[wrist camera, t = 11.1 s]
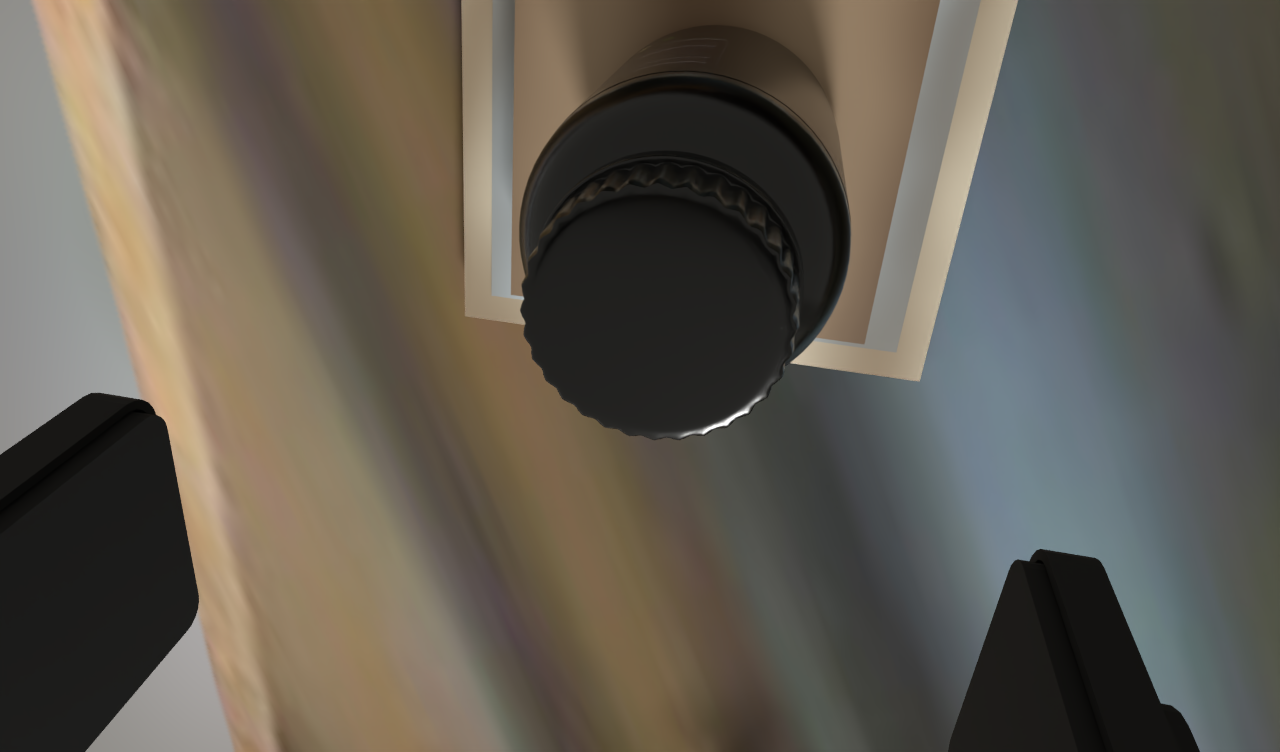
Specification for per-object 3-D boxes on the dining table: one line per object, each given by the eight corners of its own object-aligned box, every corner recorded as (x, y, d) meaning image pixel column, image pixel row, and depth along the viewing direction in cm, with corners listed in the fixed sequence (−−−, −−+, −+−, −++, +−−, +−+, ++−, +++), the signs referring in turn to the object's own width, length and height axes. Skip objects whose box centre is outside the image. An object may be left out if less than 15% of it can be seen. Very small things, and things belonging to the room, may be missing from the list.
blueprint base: (1045, -157, 25) (1089, -162, 22) (915, 361, 33) (929, 427, 29) (475, -206, 27) (419, -219, 23) (477, 299, 35) (435, 353, 31)
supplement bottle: (881, 196, 26) (932, 413, 16) (670, 298, 29) (592, 544, 18) (768, -36, 24) (740, 36, 13) (549, 96, 26) (380, 246, 16)
